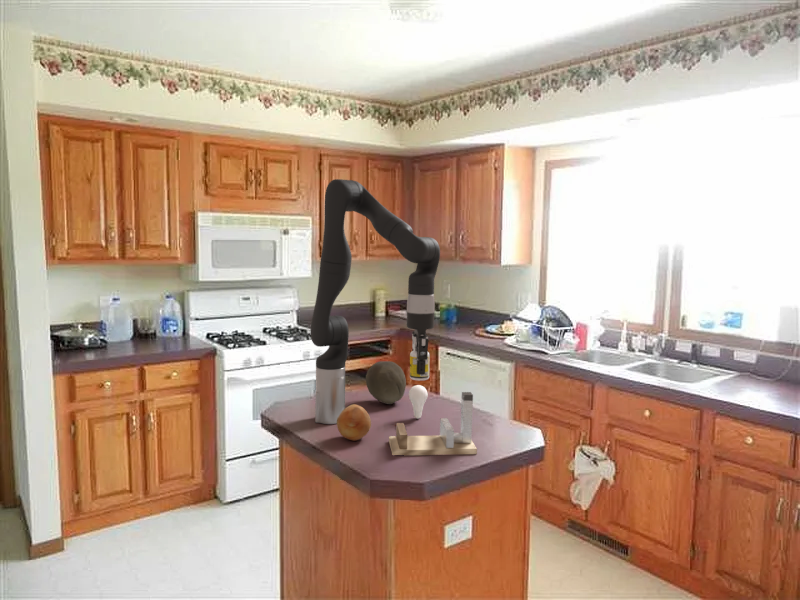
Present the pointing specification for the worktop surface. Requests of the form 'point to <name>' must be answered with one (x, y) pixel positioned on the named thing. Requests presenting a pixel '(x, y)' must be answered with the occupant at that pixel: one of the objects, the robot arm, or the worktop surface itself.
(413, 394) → the lightbulb
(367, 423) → the onion
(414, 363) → the supplement bottle
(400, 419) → the worktop surface
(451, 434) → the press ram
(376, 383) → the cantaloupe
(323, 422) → the robot arm
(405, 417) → the worktop surface
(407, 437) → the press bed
